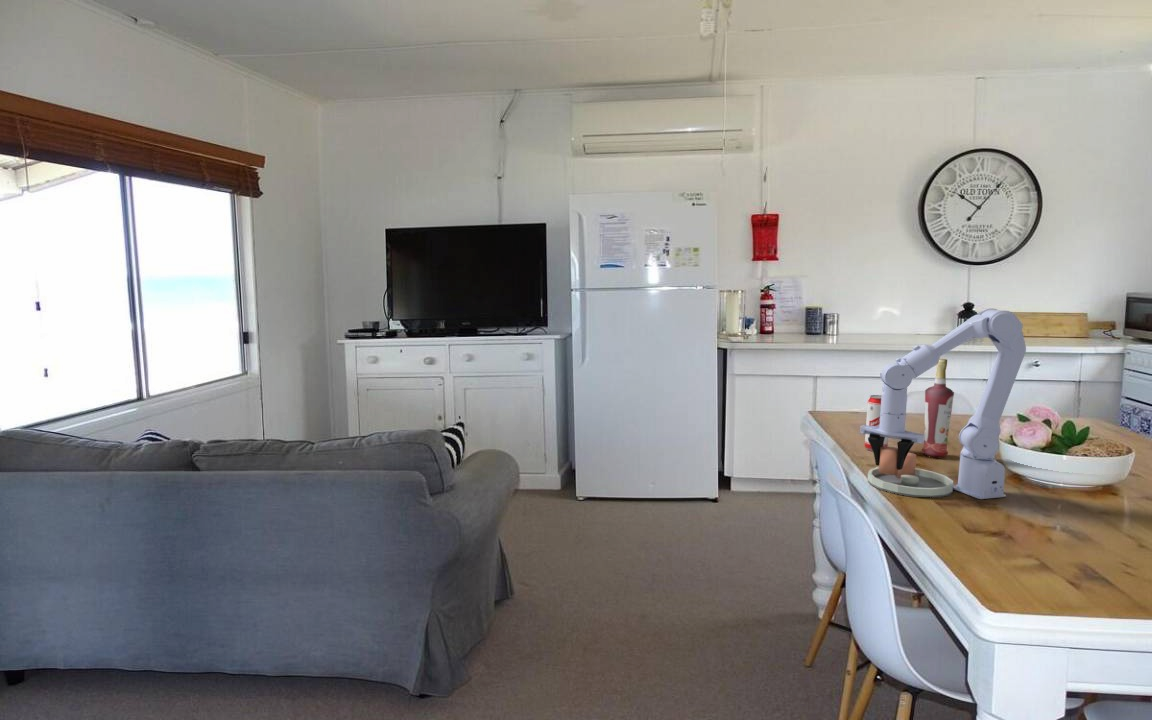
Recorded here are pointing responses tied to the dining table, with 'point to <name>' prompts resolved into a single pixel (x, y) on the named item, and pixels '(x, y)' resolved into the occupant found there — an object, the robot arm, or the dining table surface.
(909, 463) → the salmon rounded capsule
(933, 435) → the liquor
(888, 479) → the groove tray
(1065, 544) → the dining table surface
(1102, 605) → the dining table surface
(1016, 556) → the dining table surface
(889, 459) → the reddish brown rounded cylinder
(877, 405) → the beer can
